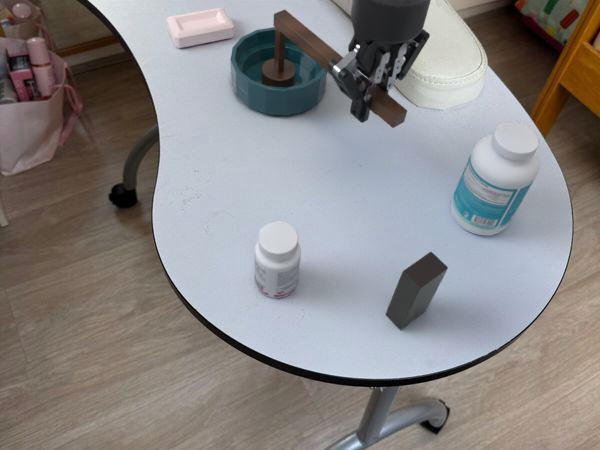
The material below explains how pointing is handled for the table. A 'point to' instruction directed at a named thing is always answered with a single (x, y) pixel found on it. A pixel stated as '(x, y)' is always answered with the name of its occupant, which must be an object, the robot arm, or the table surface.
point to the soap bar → (200, 27)
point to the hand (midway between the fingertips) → (366, 113)
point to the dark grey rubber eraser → (415, 290)
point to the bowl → (267, 98)
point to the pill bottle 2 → (496, 179)
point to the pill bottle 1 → (277, 259)
